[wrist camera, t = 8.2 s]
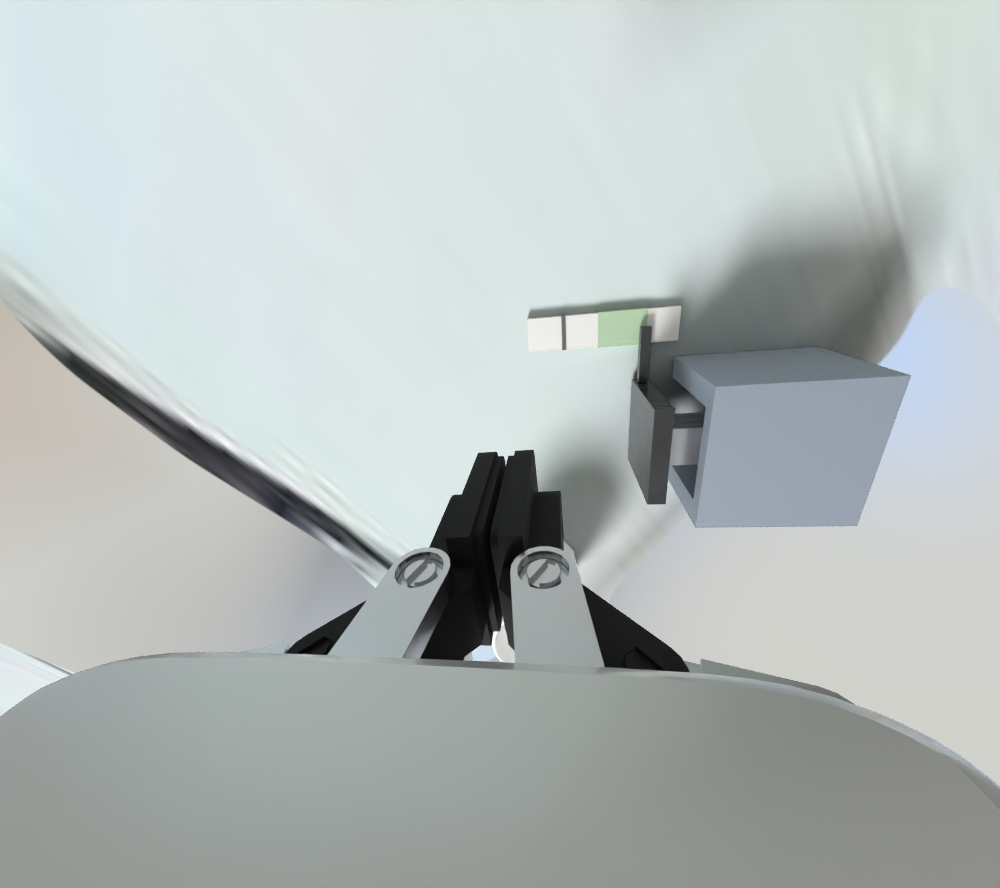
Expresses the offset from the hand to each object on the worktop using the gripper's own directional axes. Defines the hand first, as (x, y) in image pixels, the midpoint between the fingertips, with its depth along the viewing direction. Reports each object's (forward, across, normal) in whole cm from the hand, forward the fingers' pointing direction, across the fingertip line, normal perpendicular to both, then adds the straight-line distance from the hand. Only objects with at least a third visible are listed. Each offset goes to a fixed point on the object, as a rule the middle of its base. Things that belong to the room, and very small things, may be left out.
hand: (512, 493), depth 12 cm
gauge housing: (+21, -10, +5) cm, 23 cm away
